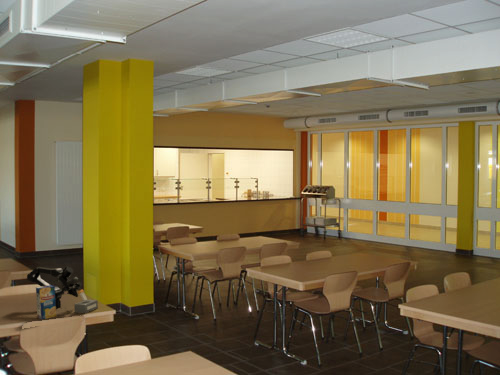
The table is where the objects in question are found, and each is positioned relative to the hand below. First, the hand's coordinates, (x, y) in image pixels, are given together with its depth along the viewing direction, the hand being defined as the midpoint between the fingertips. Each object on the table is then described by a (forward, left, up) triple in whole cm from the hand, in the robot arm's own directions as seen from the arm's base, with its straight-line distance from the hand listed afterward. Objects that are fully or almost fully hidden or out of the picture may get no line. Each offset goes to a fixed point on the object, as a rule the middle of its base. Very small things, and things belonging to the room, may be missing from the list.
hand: (77, 296), depth 397 cm
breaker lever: (+4, -7, -3) cm, 8 cm away
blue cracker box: (-24, -3, -10) cm, 27 cm away
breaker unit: (+4, -7, -10) cm, 12 cm away
